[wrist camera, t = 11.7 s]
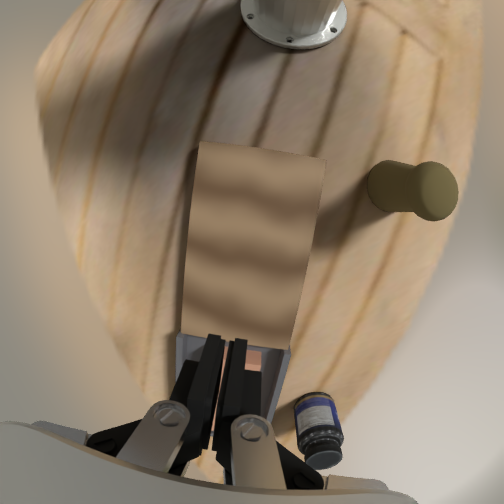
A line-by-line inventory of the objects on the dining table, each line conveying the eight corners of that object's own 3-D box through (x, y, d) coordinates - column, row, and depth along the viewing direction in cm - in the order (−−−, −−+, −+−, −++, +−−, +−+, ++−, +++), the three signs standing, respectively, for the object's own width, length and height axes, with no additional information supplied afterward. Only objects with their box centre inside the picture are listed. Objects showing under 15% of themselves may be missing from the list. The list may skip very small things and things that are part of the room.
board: (203, 143, 30) (199, 140, 28) (322, 160, 30) (326, 160, 28) (184, 325, 35) (180, 333, 33) (286, 341, 35) (287, 349, 33)
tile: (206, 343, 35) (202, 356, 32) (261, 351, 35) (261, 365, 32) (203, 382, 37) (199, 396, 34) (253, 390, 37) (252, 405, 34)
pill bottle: (329, 416, 39) (341, 470, 28) (291, 418, 39) (296, 474, 28) (337, 389, 37) (353, 445, 27) (295, 390, 37) (303, 449, 27)
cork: (368, 213, 31) (414, 231, 20) (364, 160, 29) (411, 154, 19) (413, 210, 30) (467, 227, 20) (410, 160, 29) (466, 157, 18)
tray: (182, 324, 35) (176, 336, 32) (289, 341, 35) (290, 354, 32) (180, 416, 40) (176, 429, 37) (264, 429, 40) (264, 443, 37)
